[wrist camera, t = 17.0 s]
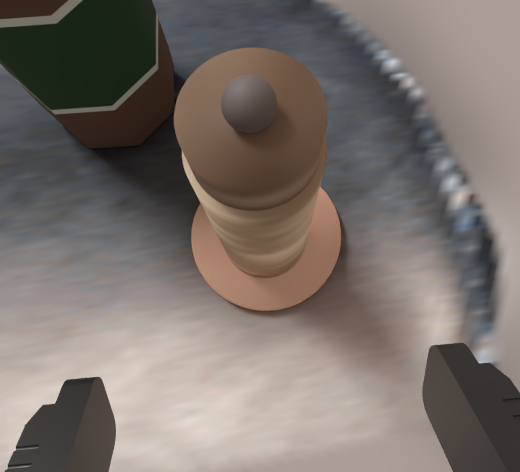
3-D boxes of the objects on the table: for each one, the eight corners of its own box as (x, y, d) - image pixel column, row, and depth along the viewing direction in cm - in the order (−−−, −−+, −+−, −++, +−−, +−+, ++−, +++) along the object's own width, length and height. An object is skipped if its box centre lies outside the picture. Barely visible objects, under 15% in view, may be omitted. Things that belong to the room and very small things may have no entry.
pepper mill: (214, 266, 24) (129, 152, 11) (236, 189, 25) (185, -6, 12) (295, 287, 24) (317, 196, 10) (314, 208, 25) (358, 28, 11)
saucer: (173, 287, 25) (171, 285, 24) (218, 153, 27) (216, 149, 26) (318, 329, 24) (319, 328, 23) (355, 188, 26) (356, 185, 25)
